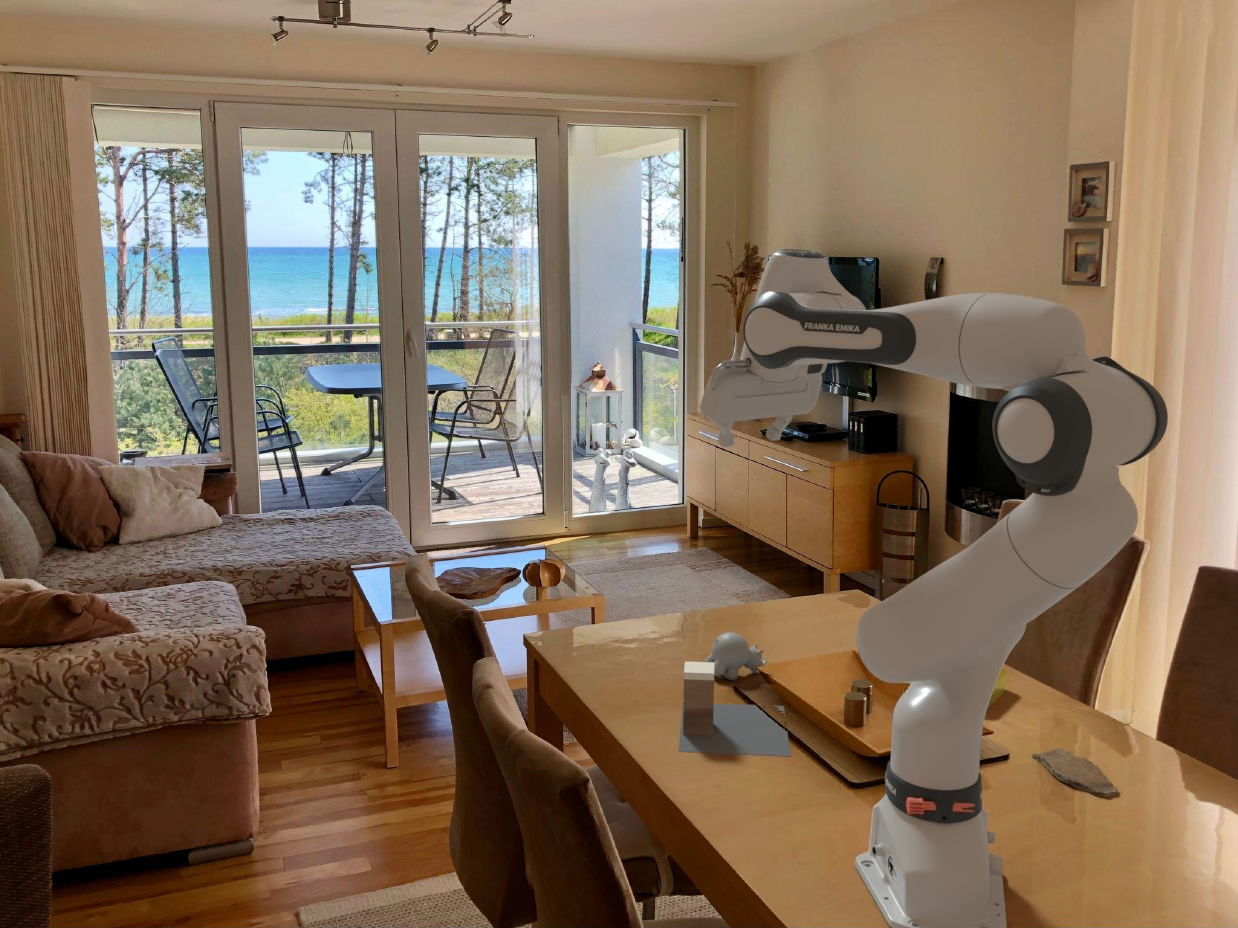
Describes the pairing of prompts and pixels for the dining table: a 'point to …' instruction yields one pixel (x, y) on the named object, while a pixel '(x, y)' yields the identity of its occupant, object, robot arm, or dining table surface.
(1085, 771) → the grey flat rock
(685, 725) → the walnut block
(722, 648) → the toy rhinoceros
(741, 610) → the dining table surface
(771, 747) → the rubber mat
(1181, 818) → the dining table surface
